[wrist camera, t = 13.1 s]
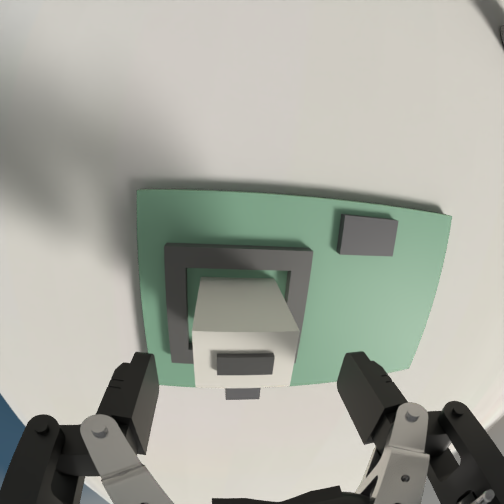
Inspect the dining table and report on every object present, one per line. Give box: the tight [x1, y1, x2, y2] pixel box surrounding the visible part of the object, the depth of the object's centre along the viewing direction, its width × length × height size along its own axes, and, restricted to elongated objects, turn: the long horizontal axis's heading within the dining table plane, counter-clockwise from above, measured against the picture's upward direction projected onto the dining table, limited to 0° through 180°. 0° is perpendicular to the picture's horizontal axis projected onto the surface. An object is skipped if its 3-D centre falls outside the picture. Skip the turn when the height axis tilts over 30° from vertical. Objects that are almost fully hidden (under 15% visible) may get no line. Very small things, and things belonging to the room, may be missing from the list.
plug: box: [192, 277, 300, 400], centre depth 14 cm, size 4×4×6 cm
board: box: [137, 189, 452, 387], centre depth 18 cm, size 22×14×2 cm, turn 86°
